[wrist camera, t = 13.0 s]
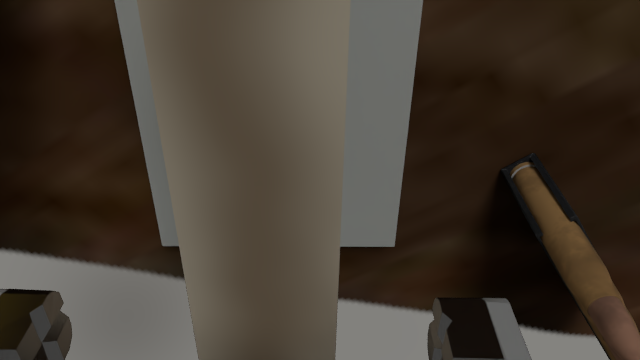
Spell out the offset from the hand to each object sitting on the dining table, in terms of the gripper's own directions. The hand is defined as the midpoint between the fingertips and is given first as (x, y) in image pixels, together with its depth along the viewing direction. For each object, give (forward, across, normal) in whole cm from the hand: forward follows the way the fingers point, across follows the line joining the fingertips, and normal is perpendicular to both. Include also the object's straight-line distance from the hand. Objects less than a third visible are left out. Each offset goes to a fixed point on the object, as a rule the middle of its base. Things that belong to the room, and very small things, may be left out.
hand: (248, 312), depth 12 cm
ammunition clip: (+15, -14, +9) cm, 23 cm away
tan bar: (+9, 0, 0) cm, 9 cm away
